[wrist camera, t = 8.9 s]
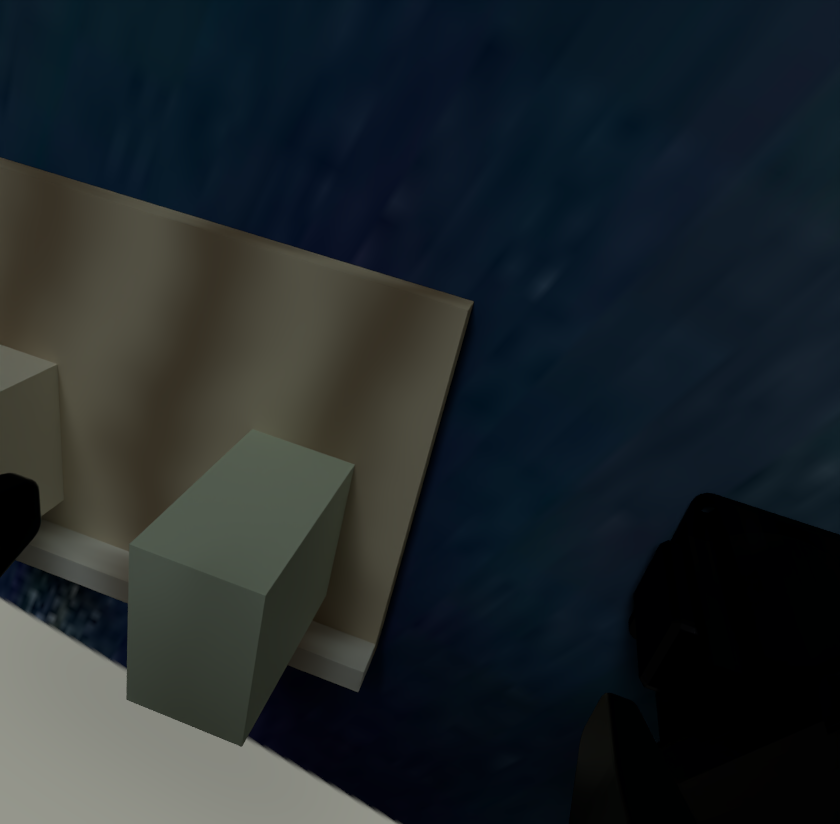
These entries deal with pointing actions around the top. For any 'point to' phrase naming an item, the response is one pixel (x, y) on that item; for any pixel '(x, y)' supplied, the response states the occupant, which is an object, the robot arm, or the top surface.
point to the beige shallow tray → (220, 382)
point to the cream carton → (31, 423)
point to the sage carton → (232, 583)
